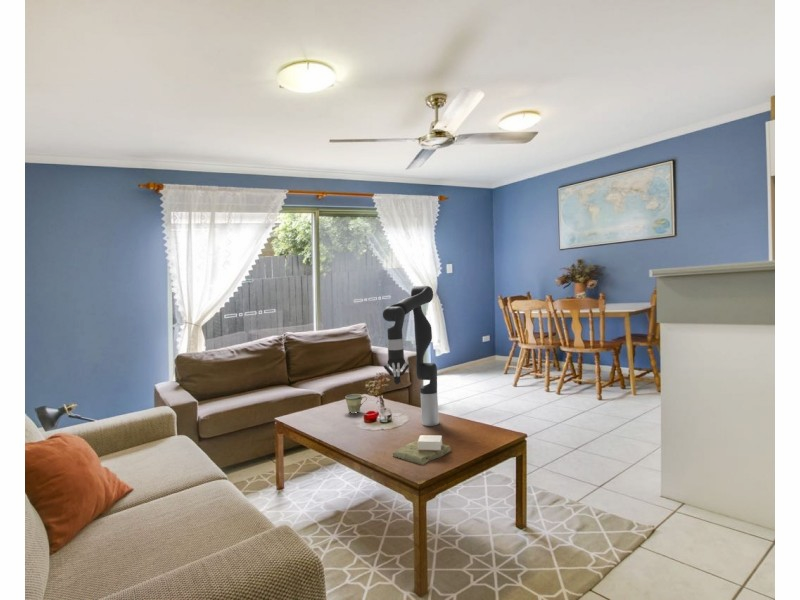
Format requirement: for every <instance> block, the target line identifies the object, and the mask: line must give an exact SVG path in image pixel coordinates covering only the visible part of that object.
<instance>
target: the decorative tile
mask: <svg viewBox="0 0 800 600" xmlns="http://www.w3.org/2000/svg"><path fill="white" fill-rule="evenodd" d="M418 440H419V439H416V440H415V441H414V440H413V441H412V442H410V443H407V444H405V445H403V446H401V447H400V448H397V449H396V450H394V451H392V457H393V456H394V458H397V457H398V459H400V458H401V460H405V461H408V462H412V463H415V464H419V465H423V466H424V465H426V464H427V463H428V462H429V461H432V460H435V459H438V458H441V457H443V456H445V455H446V454H448V453H450V452H451V446H450V445H447V444H443V443H442V448H441V451H428V450H418Z"/></svg>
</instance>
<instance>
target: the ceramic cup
mask: <svg viewBox="0 0 800 600" xmlns="http://www.w3.org/2000/svg"><path fill="white" fill-rule="evenodd" d="M363 399H365V400H364V401H363V402H362V400H363ZM367 399H368V397H366V396H362V394H360V393H352V394H347V395H345V402H346V404H347V405H346V406H347V409H348V413H349V412H351V413H355V412H359V413H360V412H361V407H362V405H363V404H364V403H366V401H367ZM351 413H350V414H351Z"/></svg>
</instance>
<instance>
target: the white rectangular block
mask: <svg viewBox="0 0 800 600" xmlns="http://www.w3.org/2000/svg"><path fill="white" fill-rule="evenodd" d="M417 440H418V450H428V451H441V448H442V444H443V435H437V434H436V435H428V434H425V435H422V434H421V435H419V438H418V439H417Z"/></svg>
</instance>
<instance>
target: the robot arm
mask: <svg viewBox="0 0 800 600" xmlns="http://www.w3.org/2000/svg"><path fill="white" fill-rule="evenodd" d="M433 298H434V290H433V288H432V287H431V286H429V285H417V286H416V285H414V286H412V288H411V291H410V296H408V297H406V298H404V299H401V300H400V301H398V302H397V303H393V304H391V305H388V306H386V307H385V308H384V309H383V312H382V318H383V319H384V321H386V322H394V324H393V325H392V326H389V327H388V328H387V357H388V359H387V363H386V364H384V365H383V368H384V369H385V370H386V372H387V373H388V374H389V375H390V376H392V377H393V382H394V384H395V385H400V383H401V381H402V380H401V377H402V376H403V375H404V374H405V373H406V372H407V370H408V369H409V367H410V363H407V362H406V360H405V354H404V341H403V339H404V338H403V328H404V327H403V326H404V323H405V317H406V315H407V314H409V313H410V312H412V313H413V321H414V322H413V323H414V339H415V340H414V341H415V351H416V352H415V354H416V356H415V358H416V360H415V362H416V363H415V373H416V379H418V380H420V381H429V383H428V384H425V385H422V386H421V387H420V389H419V391H420V410H421V425H423V426H426V427H432V426H437V425H439V423H440V421H439V419H440V418H439V399H438V367H437V364H436V363H435V362H424V356H425V354H426V352H427V349H428V348H429V346H430V345H431V342H432V340H433V332H432V330H433V329H432V326H431V323H430V321H429V320H428V318H427V317H426V315H425V314H424V312H423V307H422V306H423V305H425V304H428V303H430V302H432V300H433ZM403 367H404V369H403V370H402V368H403ZM390 368H391V369H390ZM401 371H402V372H401Z"/></svg>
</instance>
